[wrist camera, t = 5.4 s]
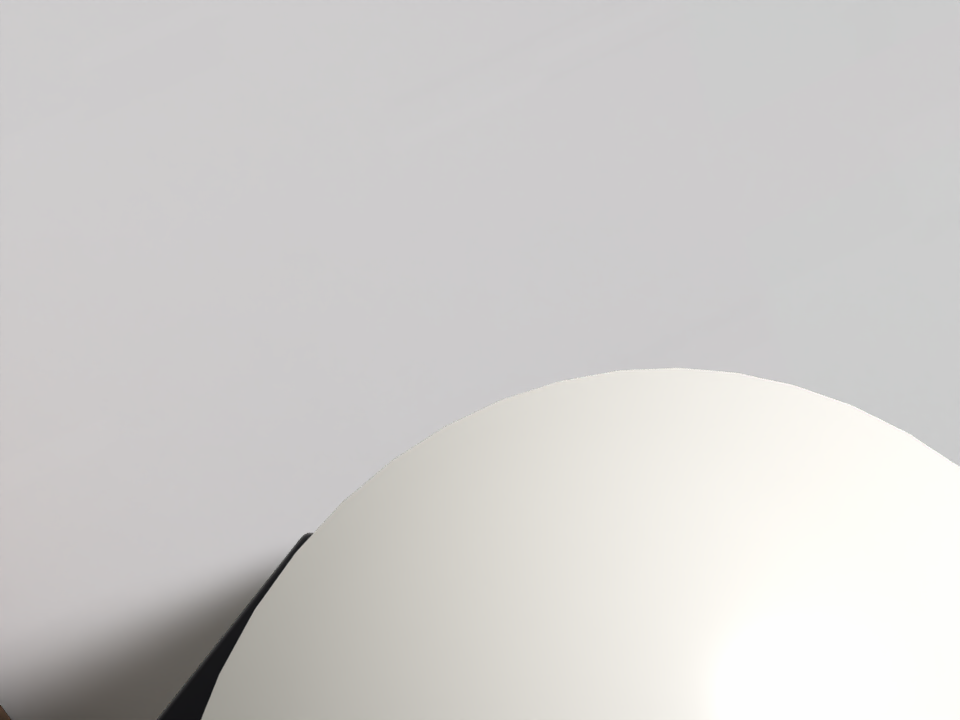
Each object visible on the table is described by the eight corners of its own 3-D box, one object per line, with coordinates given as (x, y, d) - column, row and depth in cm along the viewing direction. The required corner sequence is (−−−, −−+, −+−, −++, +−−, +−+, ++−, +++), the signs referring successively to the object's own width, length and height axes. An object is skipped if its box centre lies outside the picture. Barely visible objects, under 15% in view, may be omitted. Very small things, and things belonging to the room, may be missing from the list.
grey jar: (637, 735, 15) (1330, 1567, 3) (369, 737, 15) (89, 1658, 3) (628, 467, 16) (1117, 376, 4) (380, 464, 16) (206, 358, 4)
